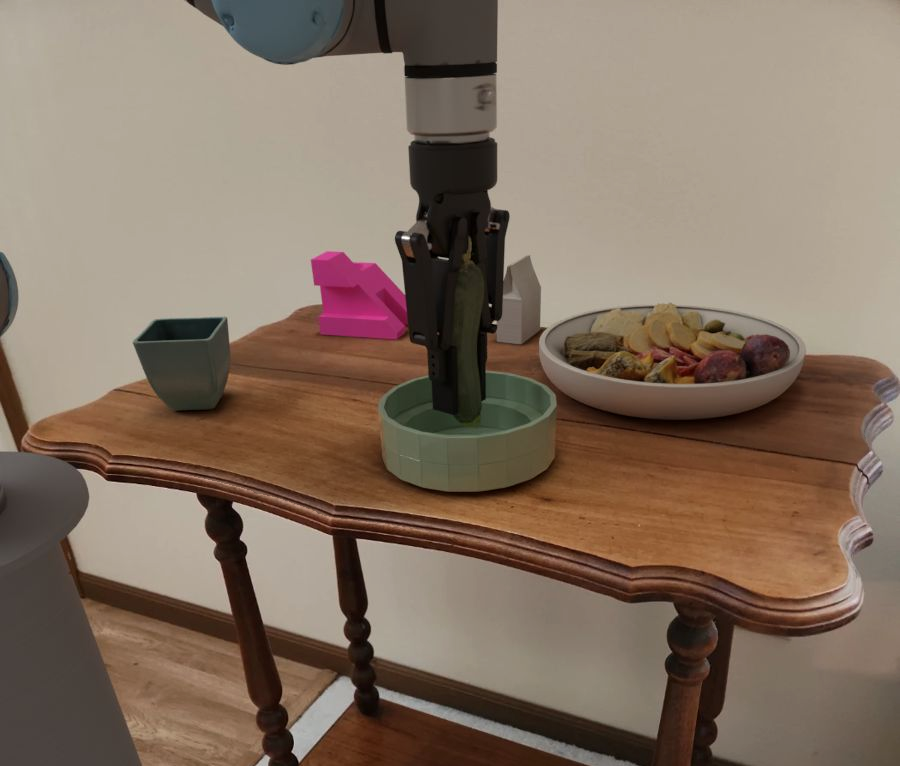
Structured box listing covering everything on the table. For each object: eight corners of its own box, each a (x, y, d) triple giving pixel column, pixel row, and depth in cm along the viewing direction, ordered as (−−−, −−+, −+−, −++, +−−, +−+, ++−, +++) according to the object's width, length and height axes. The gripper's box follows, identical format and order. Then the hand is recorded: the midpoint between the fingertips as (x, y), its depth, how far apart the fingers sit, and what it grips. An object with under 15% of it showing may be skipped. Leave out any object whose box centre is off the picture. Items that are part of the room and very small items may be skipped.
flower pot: (226, 416, 93) (210, 338, 88) (151, 419, 93) (130, 341, 88) (242, 389, 101) (228, 315, 95) (172, 391, 101) (154, 318, 96)
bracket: (320, 334, 118) (310, 259, 112) (349, 314, 126) (341, 243, 120) (396, 339, 114) (391, 262, 108) (421, 318, 122) (417, 245, 116)
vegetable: (455, 439, 80) (454, 218, 69) (430, 426, 83) (425, 212, 72) (490, 429, 82) (495, 213, 71) (464, 417, 85) (465, 207, 74)
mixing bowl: (348, 466, 81) (341, 409, 78) (456, 412, 92) (455, 359, 88) (483, 515, 72) (482, 453, 68) (587, 448, 82) (590, 392, 79)
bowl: (487, 388, 97) (486, 322, 93) (630, 328, 114) (635, 270, 110) (710, 457, 80) (723, 379, 75) (841, 374, 97) (858, 306, 92)
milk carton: (540, 330, 115) (541, 255, 110) (521, 344, 110) (522, 267, 105) (516, 327, 117) (516, 254, 111) (496, 341, 112) (496, 265, 106)
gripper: (420, 150, 60) (433, 441, 74) (546, 128, 71) (538, 387, 84) (349, 146, 65) (374, 422, 78) (478, 125, 75) (481, 373, 88)
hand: (459, 403), depth 81 cm, fingers closed on vegetable, 4 cm apart
